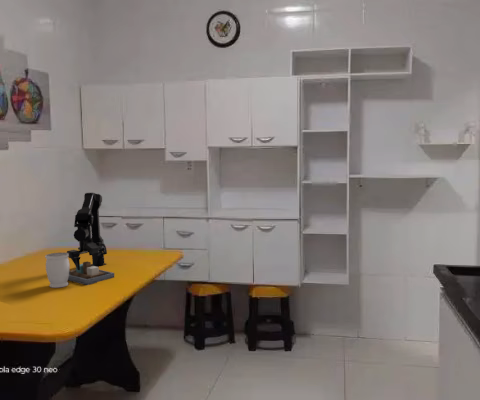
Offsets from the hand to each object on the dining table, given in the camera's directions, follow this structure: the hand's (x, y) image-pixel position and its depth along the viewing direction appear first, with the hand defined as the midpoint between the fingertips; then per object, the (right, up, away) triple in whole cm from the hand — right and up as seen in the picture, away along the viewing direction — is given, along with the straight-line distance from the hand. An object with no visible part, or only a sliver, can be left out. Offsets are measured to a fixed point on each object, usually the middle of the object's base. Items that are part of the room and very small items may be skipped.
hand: (86, 268), depth 247 cm
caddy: (0, -4, 0) cm, 4 cm away
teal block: (-3, -3, +3) cm, 5 cm away
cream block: (+4, -3, -2) cm, 5 cm away
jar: (-9, -7, -12) cm, 17 cm away
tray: (0, -5, 0) cm, 5 cm away
